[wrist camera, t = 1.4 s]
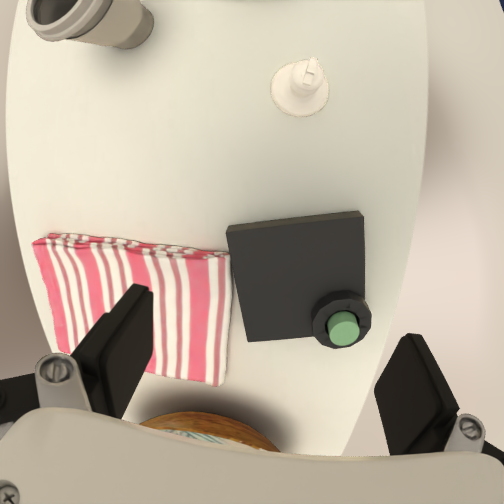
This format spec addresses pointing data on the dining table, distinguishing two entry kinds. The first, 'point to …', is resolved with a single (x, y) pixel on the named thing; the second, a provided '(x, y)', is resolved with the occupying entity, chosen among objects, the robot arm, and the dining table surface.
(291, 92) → the chess piece
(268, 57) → the dining table surface
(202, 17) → the dining table surface
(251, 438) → the bowl
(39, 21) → the cup
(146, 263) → the dish towel
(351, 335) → the button
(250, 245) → the scale
